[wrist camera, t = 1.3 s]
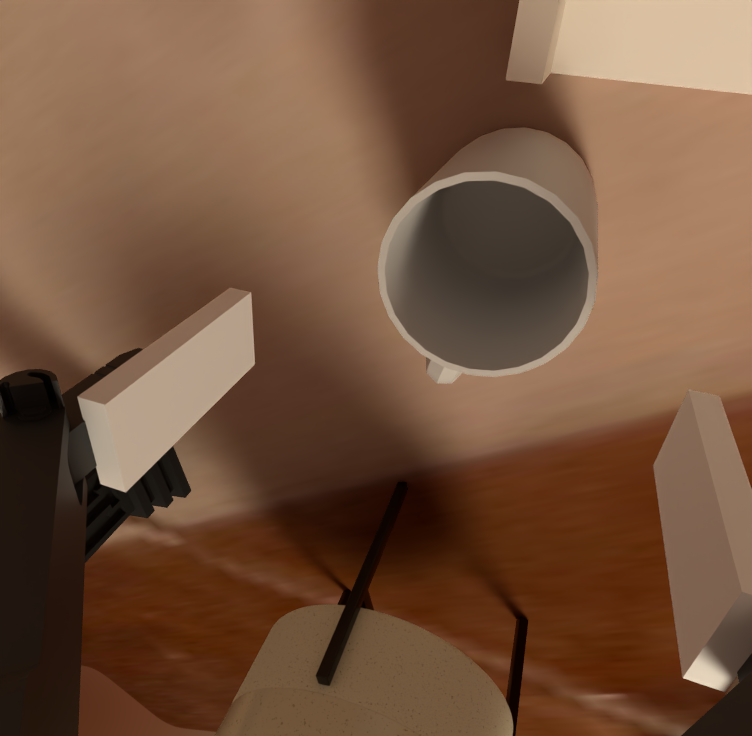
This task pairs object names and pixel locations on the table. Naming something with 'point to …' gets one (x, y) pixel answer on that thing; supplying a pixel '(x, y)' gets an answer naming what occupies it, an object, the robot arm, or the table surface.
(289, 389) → the table surface
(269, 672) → the planter
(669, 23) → the tray
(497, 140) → the cup
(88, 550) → the chess piece
